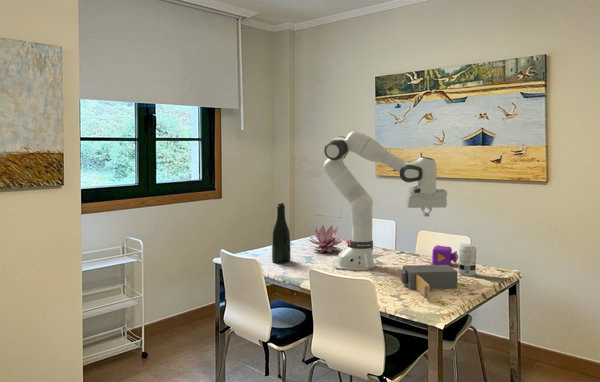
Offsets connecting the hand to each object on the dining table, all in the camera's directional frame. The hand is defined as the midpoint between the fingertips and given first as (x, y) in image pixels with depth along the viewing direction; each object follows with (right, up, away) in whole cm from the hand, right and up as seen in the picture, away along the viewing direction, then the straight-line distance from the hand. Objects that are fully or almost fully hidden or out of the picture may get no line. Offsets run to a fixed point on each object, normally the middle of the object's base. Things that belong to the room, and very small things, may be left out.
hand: (426, 216), depth 247 cm
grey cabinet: (-4, -31, -19) cm, 37 cm away
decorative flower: (-48, -24, +51) cm, 74 cm away
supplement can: (+20, -30, -1) cm, 36 cm away
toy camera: (+15, -28, +19) cm, 37 cm away
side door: (-11, -32, -34) cm, 48 cm away
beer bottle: (-75, -27, +26) cm, 84 cm away
